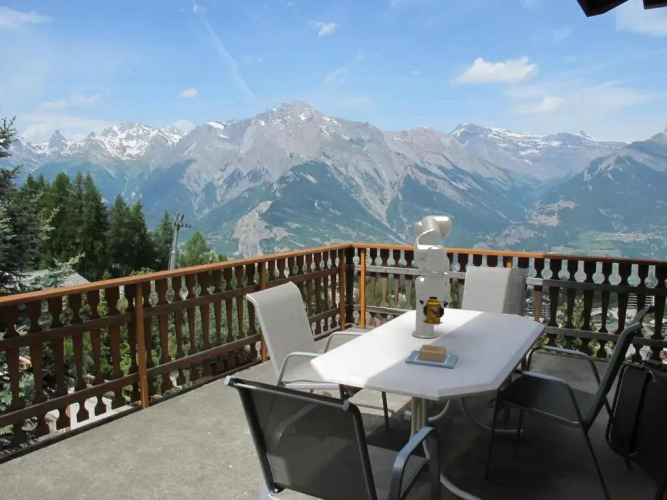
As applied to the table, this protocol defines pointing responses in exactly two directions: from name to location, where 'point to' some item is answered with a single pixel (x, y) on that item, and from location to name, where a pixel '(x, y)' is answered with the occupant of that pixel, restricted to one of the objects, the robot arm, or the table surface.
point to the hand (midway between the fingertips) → (433, 315)
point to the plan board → (448, 365)
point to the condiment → (433, 312)
